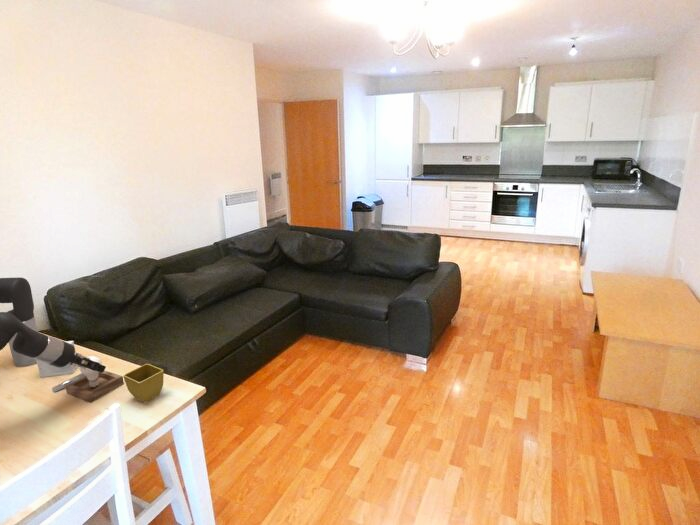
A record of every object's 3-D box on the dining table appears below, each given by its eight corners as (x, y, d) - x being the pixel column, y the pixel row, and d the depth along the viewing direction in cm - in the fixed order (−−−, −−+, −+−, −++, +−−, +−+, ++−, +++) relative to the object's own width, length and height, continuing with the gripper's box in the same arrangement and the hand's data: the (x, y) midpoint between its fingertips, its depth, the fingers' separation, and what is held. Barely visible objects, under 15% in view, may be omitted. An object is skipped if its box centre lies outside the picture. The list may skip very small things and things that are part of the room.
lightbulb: (95, 392, 137) (89, 362, 134) (79, 390, 138) (72, 360, 135) (109, 382, 143) (104, 353, 140) (93, 380, 144) (88, 351, 141)
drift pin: (56, 392, 139) (54, 388, 139) (52, 391, 140) (51, 386, 139) (87, 376, 149) (86, 372, 148) (84, 375, 149) (83, 371, 149)
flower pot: (168, 394, 138) (164, 369, 135) (143, 408, 130) (139, 382, 128) (151, 386, 142) (147, 363, 139) (126, 400, 135) (122, 375, 132)
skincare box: (39, 378, 148) (33, 351, 145) (47, 369, 154) (41, 343, 151) (72, 374, 150) (66, 347, 148) (79, 365, 156) (73, 339, 154)
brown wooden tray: (66, 394, 138) (64, 386, 137) (101, 376, 149) (99, 368, 148) (90, 403, 133) (88, 394, 132) (123, 383, 144) (122, 376, 143)
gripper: (31, 358, 128) (75, 373, 141) (59, 368, 122) (103, 382, 135) (45, 335, 131) (88, 352, 145) (74, 344, 125) (115, 360, 139)
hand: (95, 366), depth 140 cm, fingers open, 8 cm apart
